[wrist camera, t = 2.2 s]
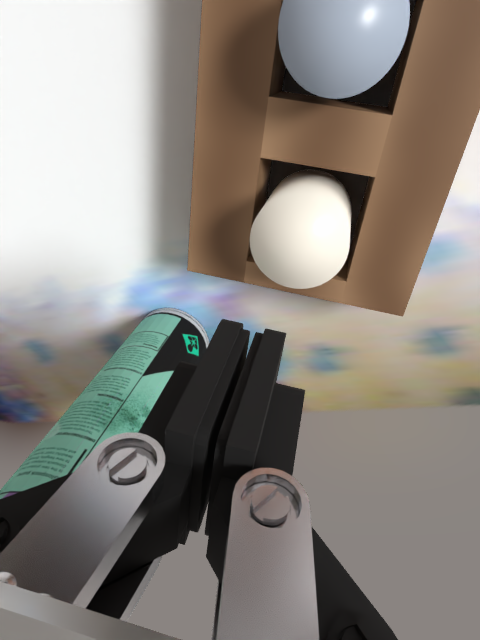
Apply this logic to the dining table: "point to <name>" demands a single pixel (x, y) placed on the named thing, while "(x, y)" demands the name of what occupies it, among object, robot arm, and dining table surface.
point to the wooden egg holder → (331, 145)
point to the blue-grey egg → (341, 42)
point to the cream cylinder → (303, 230)
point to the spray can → (115, 396)
